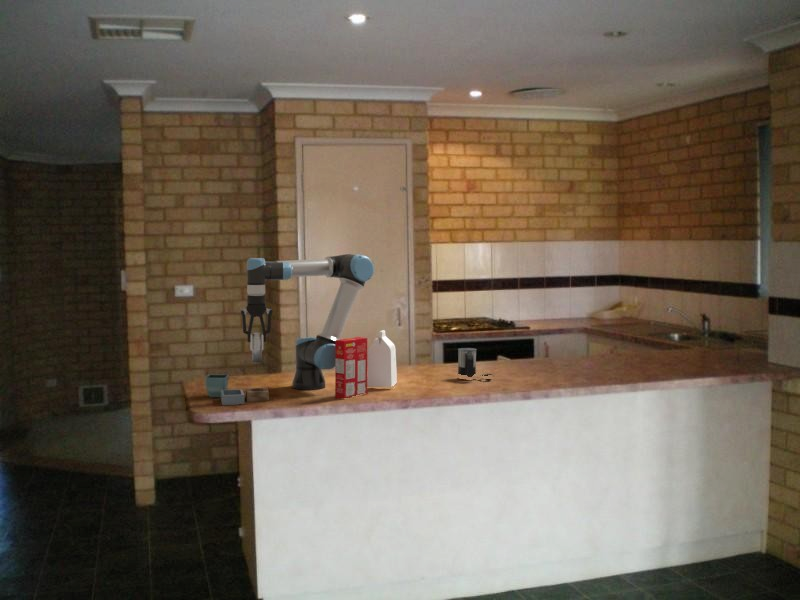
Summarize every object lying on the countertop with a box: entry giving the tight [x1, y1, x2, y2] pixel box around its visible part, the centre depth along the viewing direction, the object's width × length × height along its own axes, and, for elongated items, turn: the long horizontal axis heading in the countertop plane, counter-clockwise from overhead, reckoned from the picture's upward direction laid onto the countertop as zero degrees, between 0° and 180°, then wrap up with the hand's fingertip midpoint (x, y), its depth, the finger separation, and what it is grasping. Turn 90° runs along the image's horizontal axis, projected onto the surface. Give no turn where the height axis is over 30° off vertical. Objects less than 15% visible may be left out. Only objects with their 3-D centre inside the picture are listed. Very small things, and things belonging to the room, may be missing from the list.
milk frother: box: [457, 347, 493, 377], centre depth 411 cm, size 14×16×15 cm
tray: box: [220, 388, 245, 406], centre depth 355 cm, size 9×13×4 cm
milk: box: [367, 329, 398, 387], centre depth 390 cm, size 12×12×26 cm
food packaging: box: [334, 336, 368, 399], centre depth 368 cm, size 15×5×25 cm, turn 141°
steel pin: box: [251, 332, 263, 363], centre depth 359 cm, size 4×4×12 cm
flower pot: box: [204, 374, 229, 399], centre depth 366 cm, size 9×9×9 cm
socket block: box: [245, 387, 270, 403], centre depth 361 cm, size 9×9×4 cm
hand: (256, 349), depth 359 cm, fingers closed on steel pin, 4 cm apart
